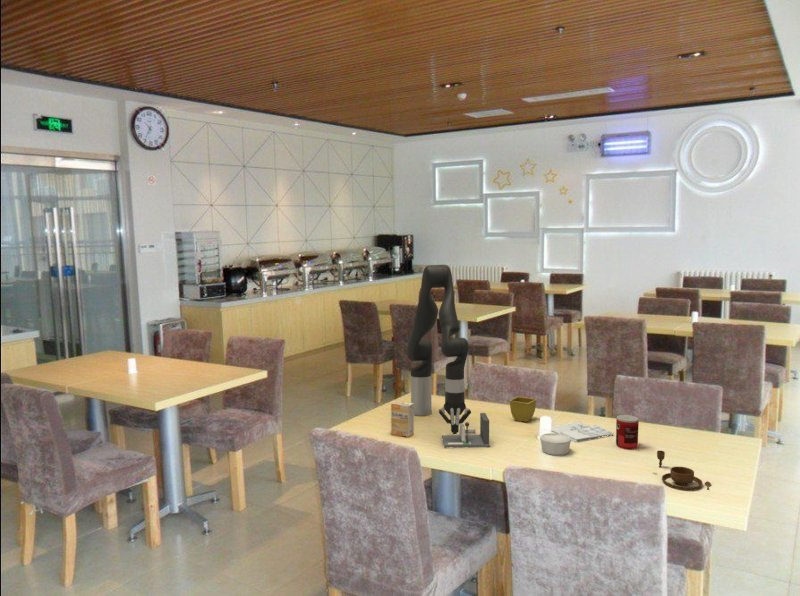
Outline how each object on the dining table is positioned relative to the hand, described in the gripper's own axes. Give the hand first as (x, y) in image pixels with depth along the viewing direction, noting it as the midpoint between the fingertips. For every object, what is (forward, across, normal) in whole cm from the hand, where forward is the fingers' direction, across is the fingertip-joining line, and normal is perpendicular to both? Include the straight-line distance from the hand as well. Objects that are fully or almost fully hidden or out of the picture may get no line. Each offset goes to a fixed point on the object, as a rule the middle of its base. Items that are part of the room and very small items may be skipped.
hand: (454, 433), depth 249 cm
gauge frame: (+3, -4, 0) cm, 5 cm away
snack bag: (+4, -51, -11) cm, 52 cm away
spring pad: (+2, -5, 0) cm, 6 cm away
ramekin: (+4, -36, +11) cm, 38 cm away
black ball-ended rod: (+2, -4, +5) cm, 7 cm away
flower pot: (+4, -32, -28) cm, 42 cm away
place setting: (+4, -70, +39) cm, 81 cm away
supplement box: (+4, +20, -10) cm, 23 cm away
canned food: (+3, -64, +7) cm, 65 cm away
